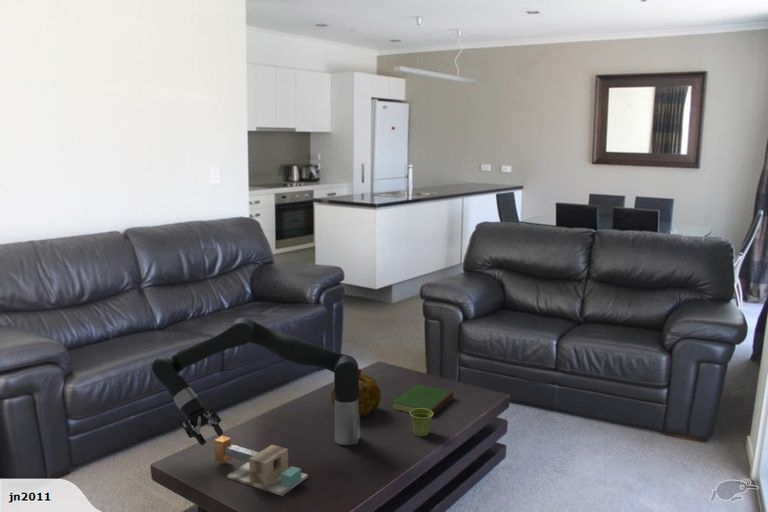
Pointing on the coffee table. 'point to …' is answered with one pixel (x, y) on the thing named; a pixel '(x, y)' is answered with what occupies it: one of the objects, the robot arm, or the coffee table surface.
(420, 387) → the hardcover book
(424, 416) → the plant pot
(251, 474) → the bearing block
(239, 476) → the base board
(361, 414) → the decorative pumpkin
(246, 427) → the coffee table surface
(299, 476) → the block
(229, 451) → the shaft
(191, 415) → the robot arm
